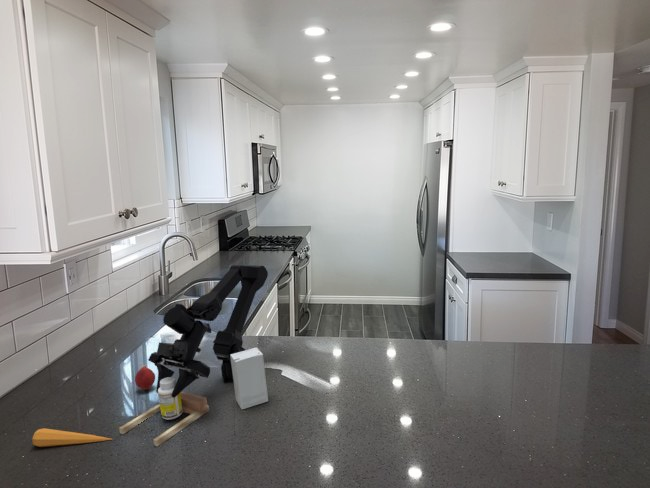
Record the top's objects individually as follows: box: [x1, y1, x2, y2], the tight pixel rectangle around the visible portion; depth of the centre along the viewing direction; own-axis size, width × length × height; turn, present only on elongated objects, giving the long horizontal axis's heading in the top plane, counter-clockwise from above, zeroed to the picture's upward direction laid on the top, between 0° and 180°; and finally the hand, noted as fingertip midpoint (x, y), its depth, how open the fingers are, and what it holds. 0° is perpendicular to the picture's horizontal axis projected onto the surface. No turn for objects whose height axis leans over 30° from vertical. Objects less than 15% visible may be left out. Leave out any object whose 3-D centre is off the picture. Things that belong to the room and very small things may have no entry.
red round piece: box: [134, 364, 156, 391], centre depth 142 cm, size 6×6×8 cm
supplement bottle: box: [157, 376, 184, 421], centre depth 124 cm, size 6×6×10 cm
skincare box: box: [230, 347, 269, 410], centre depth 129 cm, size 8×6×15 cm
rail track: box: [118, 391, 210, 447], centre depth 123 cm, size 18×14×4 cm
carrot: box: [31, 427, 113, 448], centre depth 116 cm, size 20×4×4 cm, turn 91°
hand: (165, 395), depth 122 cm, fingers closed on supplement bottle, 5 cm apart
